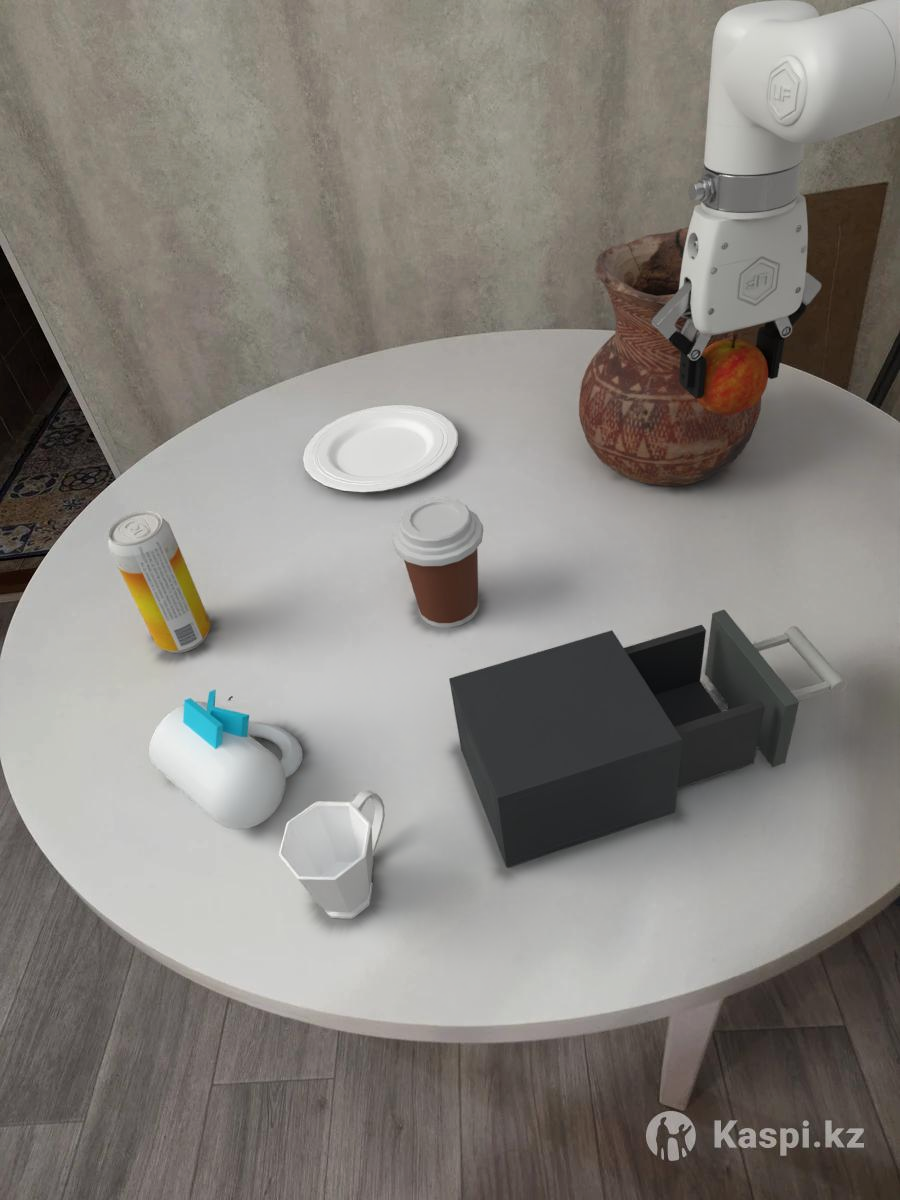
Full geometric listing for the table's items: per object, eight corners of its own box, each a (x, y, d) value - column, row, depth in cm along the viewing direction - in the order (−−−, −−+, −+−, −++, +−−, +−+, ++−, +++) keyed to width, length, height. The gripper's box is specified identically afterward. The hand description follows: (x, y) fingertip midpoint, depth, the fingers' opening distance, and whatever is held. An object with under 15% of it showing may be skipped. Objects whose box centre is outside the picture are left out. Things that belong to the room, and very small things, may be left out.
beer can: (196, 609, 97) (150, 500, 87) (222, 635, 93) (177, 525, 83) (147, 636, 94) (94, 528, 84) (171, 665, 91) (118, 555, 80)
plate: (446, 503, 106) (444, 490, 105) (286, 503, 110) (282, 490, 109) (470, 414, 121) (468, 402, 120) (328, 417, 125) (325, 405, 124)
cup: (285, 915, 68) (258, 860, 63) (352, 814, 74) (333, 757, 69) (360, 951, 65) (338, 897, 60) (423, 843, 71) (409, 786, 66)
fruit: (686, 394, 88) (691, 319, 82) (757, 390, 87) (767, 314, 81) (692, 430, 83) (698, 353, 77) (768, 427, 81) (780, 348, 76)
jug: (759, 509, 98) (792, 296, 82) (573, 507, 103) (569, 304, 86) (746, 408, 114) (771, 213, 97) (585, 410, 118) (583, 223, 102)
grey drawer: (776, 651, 81) (788, 590, 76) (851, 741, 73) (871, 679, 68) (580, 712, 79) (579, 652, 73) (635, 812, 70) (638, 753, 65)
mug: (234, 767, 67) (149, 696, 73) (228, 858, 70) (148, 783, 77) (347, 718, 75) (262, 660, 82) (336, 802, 79) (256, 739, 86)
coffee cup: (501, 583, 94) (492, 493, 86) (477, 642, 88) (465, 551, 80) (422, 574, 97) (407, 486, 89) (394, 630, 91) (374, 541, 83)
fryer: (611, 703, 80) (612, 629, 74) (675, 812, 71) (682, 739, 64) (461, 749, 78) (448, 678, 72) (506, 868, 69) (497, 798, 62)
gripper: (673, 221, 67) (663, 422, 79) (873, 175, 69) (833, 377, 81) (631, 195, 72) (627, 386, 84) (817, 153, 75) (788, 345, 86)
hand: (729, 380), depth 82 cm, fingers closed on fruit, 7 cm apart
